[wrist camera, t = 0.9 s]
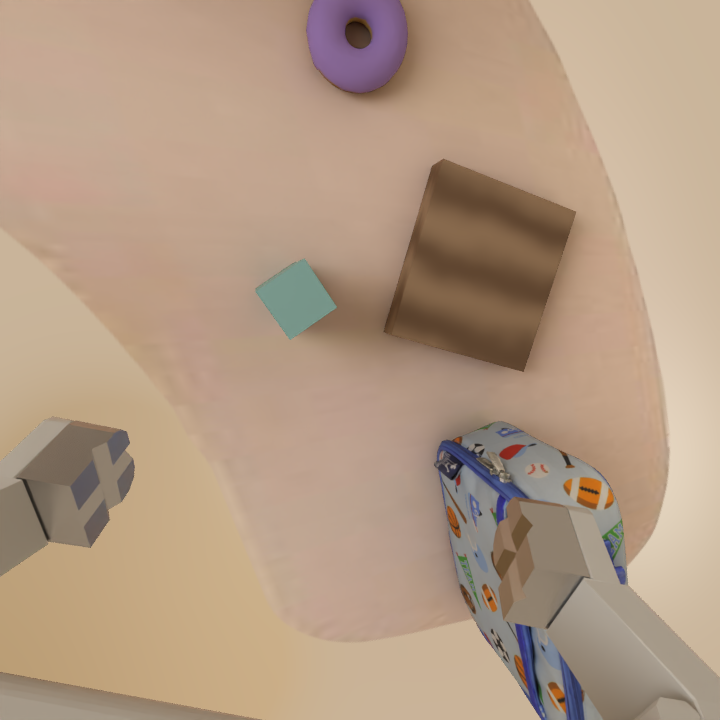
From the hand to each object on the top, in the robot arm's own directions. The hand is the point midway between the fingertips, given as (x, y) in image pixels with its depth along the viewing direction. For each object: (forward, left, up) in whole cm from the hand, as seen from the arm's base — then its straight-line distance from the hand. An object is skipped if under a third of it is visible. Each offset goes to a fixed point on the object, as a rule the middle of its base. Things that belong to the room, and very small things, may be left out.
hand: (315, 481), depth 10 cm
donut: (-28, +1, -39) cm, 48 cm away
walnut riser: (-11, +20, -39) cm, 45 cm away
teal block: (-3, +1, -39) cm, 39 cm away
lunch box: (+16, +30, -39) cm, 52 cm away
